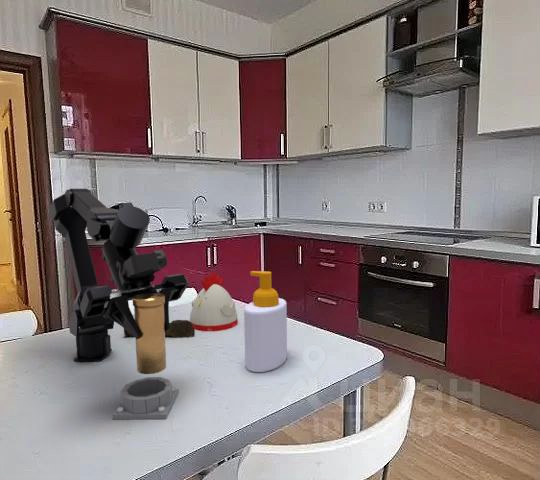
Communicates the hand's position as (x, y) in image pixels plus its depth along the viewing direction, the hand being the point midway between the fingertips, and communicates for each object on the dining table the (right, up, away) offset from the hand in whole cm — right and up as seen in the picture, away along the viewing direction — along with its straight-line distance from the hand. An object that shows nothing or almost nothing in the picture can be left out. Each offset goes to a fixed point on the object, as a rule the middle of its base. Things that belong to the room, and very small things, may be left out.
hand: (153, 334), depth 70 cm
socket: (-2, -13, +2) cm, 13 cm away
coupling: (-1, -6, +2) cm, 7 cm away
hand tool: (-9, -10, +39) cm, 41 cm away
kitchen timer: (+4, -8, +49) cm, 50 cm away
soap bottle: (+20, -11, +21) cm, 30 cm away
